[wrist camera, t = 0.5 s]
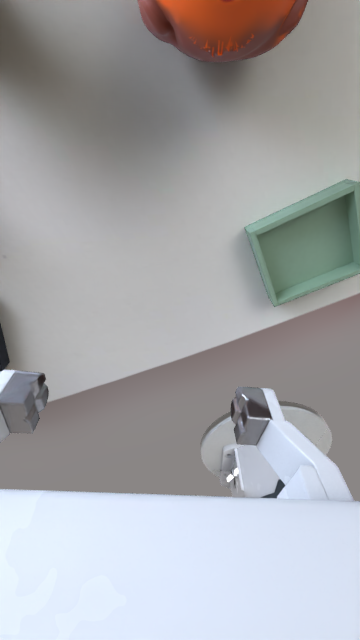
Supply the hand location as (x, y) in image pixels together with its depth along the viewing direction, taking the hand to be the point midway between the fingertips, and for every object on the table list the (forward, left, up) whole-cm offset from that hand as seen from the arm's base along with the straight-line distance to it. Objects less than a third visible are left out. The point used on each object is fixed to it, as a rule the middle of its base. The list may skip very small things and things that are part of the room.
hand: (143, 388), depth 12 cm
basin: (+1, -17, -23) cm, 29 cm away
